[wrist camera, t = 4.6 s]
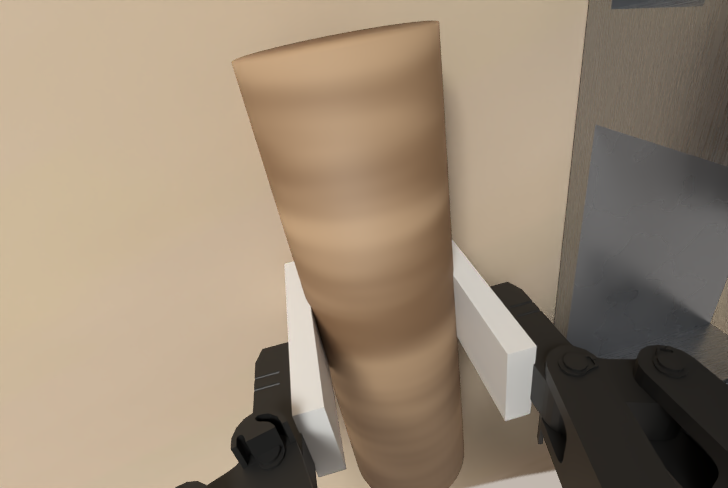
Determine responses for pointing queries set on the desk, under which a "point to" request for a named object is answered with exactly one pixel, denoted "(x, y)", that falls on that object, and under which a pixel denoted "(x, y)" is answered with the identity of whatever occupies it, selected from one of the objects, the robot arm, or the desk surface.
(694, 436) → the robot arm
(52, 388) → the desk surface
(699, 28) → the bracket
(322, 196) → the wooden cylinder
